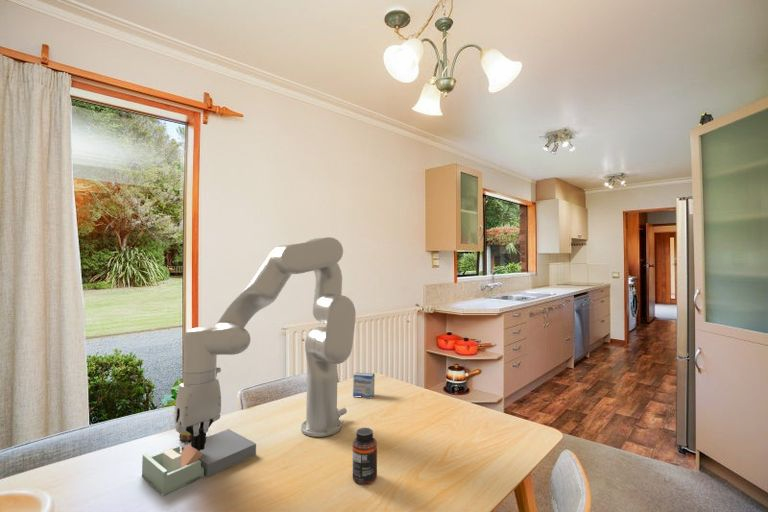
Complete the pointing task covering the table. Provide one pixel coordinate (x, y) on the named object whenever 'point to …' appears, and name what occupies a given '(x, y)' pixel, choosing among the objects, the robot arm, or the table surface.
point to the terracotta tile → (189, 455)
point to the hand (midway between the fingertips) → (198, 448)
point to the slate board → (224, 451)
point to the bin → (171, 480)
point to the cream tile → (171, 460)
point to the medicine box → (363, 384)
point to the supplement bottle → (364, 457)
